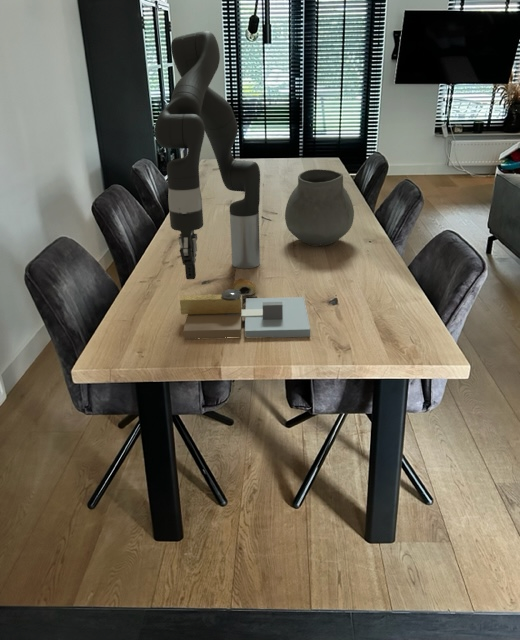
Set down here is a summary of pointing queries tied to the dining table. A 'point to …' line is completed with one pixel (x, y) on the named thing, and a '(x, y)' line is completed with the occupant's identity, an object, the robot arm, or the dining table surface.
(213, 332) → the door mock-up
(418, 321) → the dining table surface
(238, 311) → the swing bar
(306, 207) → the ceramic pot
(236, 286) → the pastry
